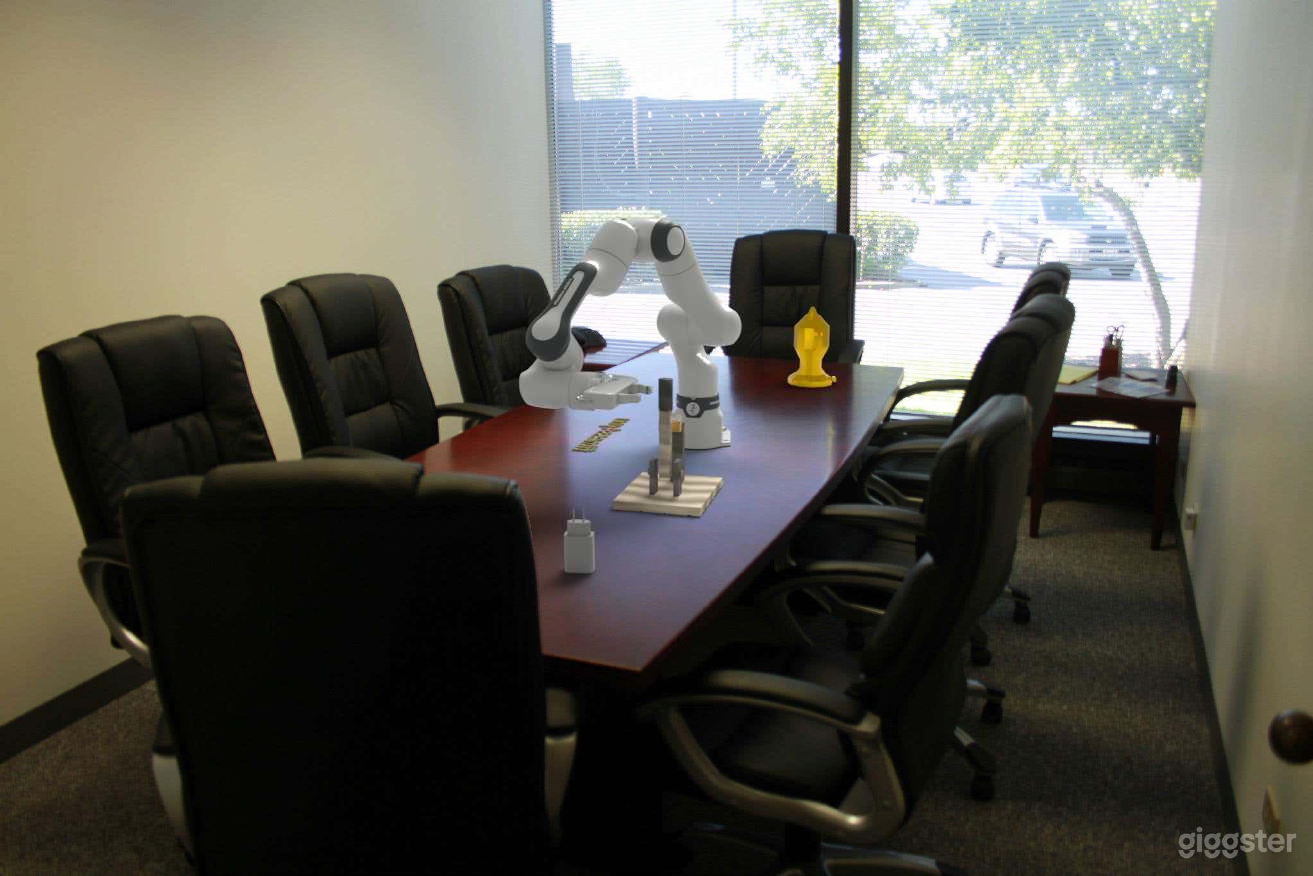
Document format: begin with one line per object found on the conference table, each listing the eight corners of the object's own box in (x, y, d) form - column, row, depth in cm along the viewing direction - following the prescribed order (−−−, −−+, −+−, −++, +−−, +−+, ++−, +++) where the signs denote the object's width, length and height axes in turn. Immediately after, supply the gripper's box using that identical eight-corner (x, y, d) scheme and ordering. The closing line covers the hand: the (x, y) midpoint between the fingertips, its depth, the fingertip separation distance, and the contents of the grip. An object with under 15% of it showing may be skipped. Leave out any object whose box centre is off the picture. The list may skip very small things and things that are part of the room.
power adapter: (567, 566, 185) (565, 505, 182) (595, 567, 185) (594, 506, 182) (564, 572, 182) (562, 511, 179) (592, 573, 182) (591, 512, 179)
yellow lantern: (831, 376, 374) (834, 303, 367) (839, 389, 350) (843, 310, 344) (785, 376, 375) (787, 303, 368) (790, 388, 351) (793, 310, 344)
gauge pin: (669, 421, 232) (669, 411, 232) (689, 422, 231) (689, 412, 230) (658, 430, 223) (658, 420, 223) (679, 432, 222) (679, 421, 221)
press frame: (642, 479, 241) (642, 415, 237) (722, 485, 236) (723, 420, 232) (613, 509, 219) (612, 438, 215) (700, 516, 213) (701, 444, 210)
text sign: (565, 451, 268) (592, 453, 266) (565, 449, 268) (592, 451, 266) (610, 420, 305) (635, 421, 303) (610, 417, 305) (635, 419, 303)
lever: (660, 474, 224) (660, 377, 218) (674, 475, 223) (674, 378, 218) (656, 478, 221) (656, 380, 215) (670, 479, 220) (670, 380, 215)
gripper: (571, 386, 212) (632, 389, 208) (601, 369, 231) (658, 372, 227) (572, 414, 213) (632, 418, 210) (601, 396, 232) (658, 399, 229)
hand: (646, 394), depth 219 cm, fingers open, 8 cm apart
